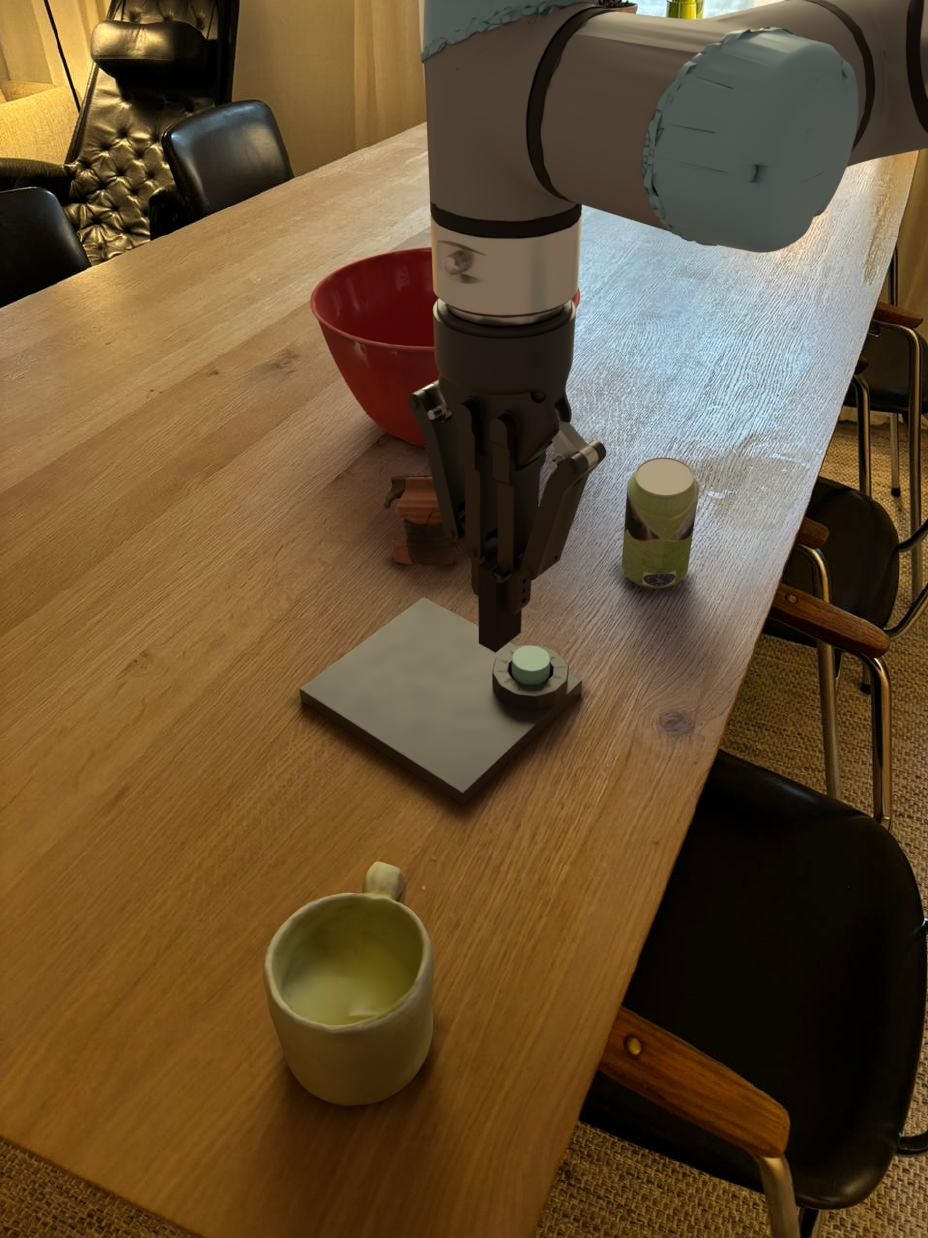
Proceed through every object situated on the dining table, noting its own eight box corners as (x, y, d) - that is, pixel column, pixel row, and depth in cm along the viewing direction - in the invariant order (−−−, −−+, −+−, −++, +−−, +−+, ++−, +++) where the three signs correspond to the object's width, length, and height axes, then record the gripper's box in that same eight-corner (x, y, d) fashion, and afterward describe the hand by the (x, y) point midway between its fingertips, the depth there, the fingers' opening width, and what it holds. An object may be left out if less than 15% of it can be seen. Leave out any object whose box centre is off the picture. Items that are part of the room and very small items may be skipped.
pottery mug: (363, 563, 95) (361, 476, 93) (418, 554, 103) (417, 474, 101) (472, 570, 88) (471, 477, 87) (521, 561, 96) (522, 475, 95)
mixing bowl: (309, 381, 123) (293, 256, 113) (529, 353, 128) (533, 231, 118) (346, 503, 102) (331, 363, 92) (607, 464, 107) (620, 327, 97)
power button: (557, 670, 78) (558, 656, 77) (534, 691, 77) (535, 676, 76) (526, 654, 80) (527, 640, 79) (503, 674, 78) (504, 660, 77)
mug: (411, 1161, 51) (363, 1014, 48) (259, 1114, 56) (205, 977, 53) (508, 991, 61) (474, 858, 57) (370, 963, 66) (331, 839, 62)
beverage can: (686, 558, 94) (705, 447, 86) (685, 607, 88) (704, 493, 81) (620, 551, 95) (632, 441, 87) (614, 599, 89) (627, 486, 82)
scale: (581, 692, 80) (583, 665, 78) (463, 806, 71) (462, 778, 70) (424, 608, 89) (422, 582, 87) (300, 701, 80) (296, 673, 78)
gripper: (365, 288, 53) (391, 625, 68) (561, 357, 46) (542, 713, 61) (458, 249, 57) (463, 574, 72) (650, 306, 51) (611, 651, 66)
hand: (499, 637), depth 67 cm, fingers closed
